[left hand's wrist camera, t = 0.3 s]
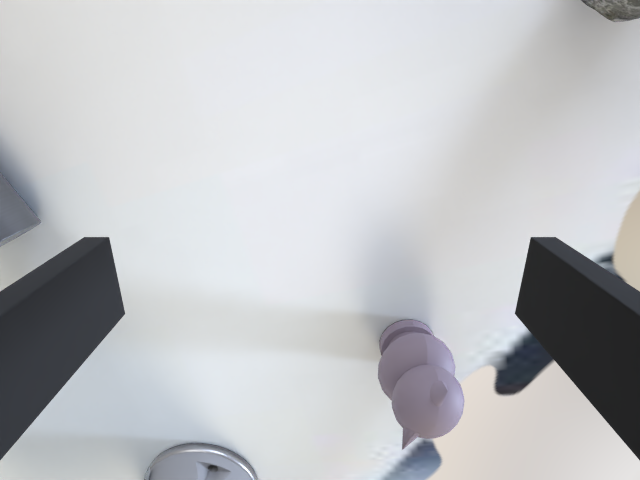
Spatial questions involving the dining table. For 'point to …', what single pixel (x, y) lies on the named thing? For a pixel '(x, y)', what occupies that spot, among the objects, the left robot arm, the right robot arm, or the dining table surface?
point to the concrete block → (616, 9)
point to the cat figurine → (419, 381)
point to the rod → (14, 213)
